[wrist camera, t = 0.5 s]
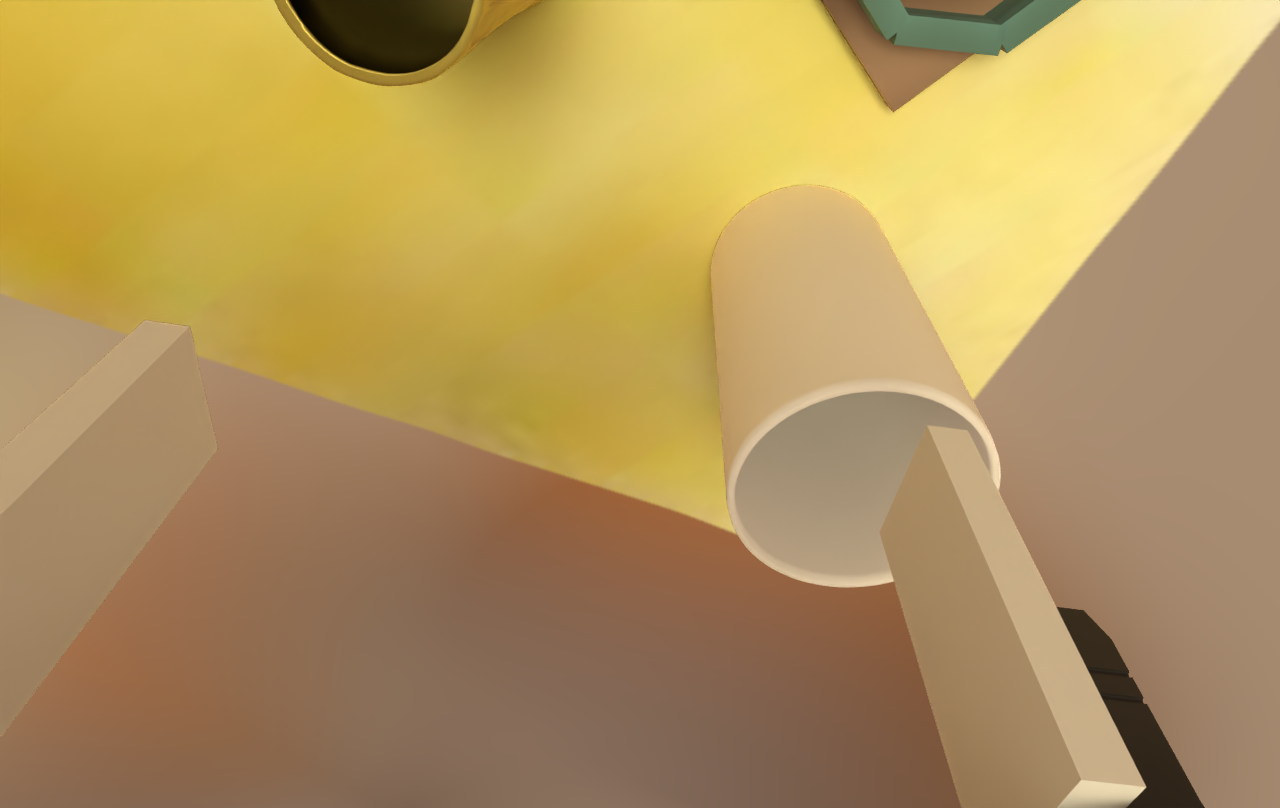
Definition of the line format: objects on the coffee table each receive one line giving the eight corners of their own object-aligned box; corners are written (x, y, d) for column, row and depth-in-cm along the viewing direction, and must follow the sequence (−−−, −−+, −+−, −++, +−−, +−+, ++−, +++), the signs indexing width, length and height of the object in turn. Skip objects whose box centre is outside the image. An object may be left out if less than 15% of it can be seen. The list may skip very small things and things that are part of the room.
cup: (689, 216, 36) (693, 424, 23) (871, 160, 34) (990, 351, 21) (735, 362, 40) (762, 608, 27) (899, 319, 38) (1012, 560, 25)
